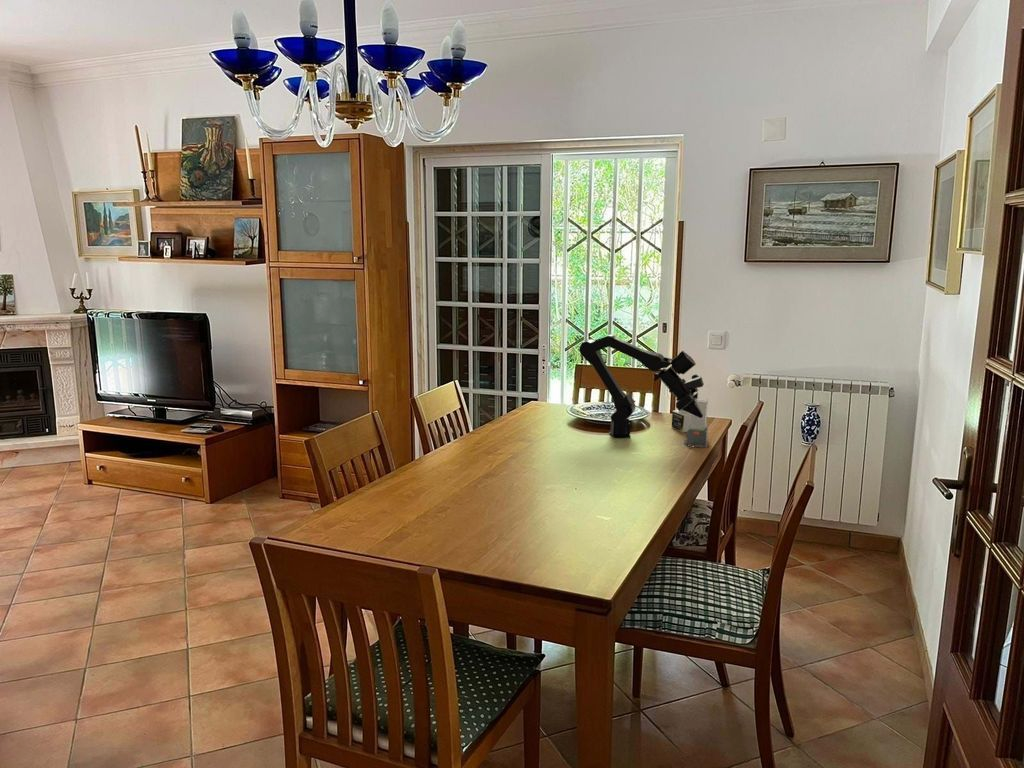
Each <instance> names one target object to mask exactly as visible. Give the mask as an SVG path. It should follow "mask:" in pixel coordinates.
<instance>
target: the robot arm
mask: <svg viewBox="0 0 1024 768" xmlns="http://www.w3.org/2000/svg"><path fill="white" fill-rule="evenodd" d="M608 347H609V348H611V349H614V350H615V351H618V352H620V353H622V354H625V356H628V357H631V358H632V359H634V360H637V361H638V362H639V363H641V365H643V367H645V368H647V369H648V370H650V371H651V372H655V373H654V374H653V376H654V377H653V382H656V381H658V380H659V379H660V381H661V382H662V383H663V384H664V386H666V388H667V389H668V392H669V393H671V394H673V396H674V398H676V403H675V408H676V410H679V411H680V410H681V409H682V410H684V411H686V412H689V413H691V414H693V415H695V416H697V417H699V418H702V417H703V415H702V414H701V412H700V410H699V409H698V407H697V406H696V404H695V398H699V397H698V396H699V392H698V391H699V389H698V388H702V387H704V385H705V384H704V383H705V382H704V380H703V377H702V376H701V375H698V374H697V373H695V374H693V375H692V376H691V379H688V380H686V379H685V378H681V377H680V375H681V374H682V375H685V374H686V373H688V372H689V370H691V369H692V368H694V367H695V366H696V362H695V360H694V359H693V357H692V356H691V355H689V354H688V353H686V352H685V351H684V350H681V352H679V353H678V355H676V356H675V357H674V358H669V357H665V356H664V355H663V354H662V353H658V352H655V351H653V350H652V351H651V350H645V349H643V348H640V347H638V346H636V345H634V344H632V343H629V342H628V341H625V340H623V339H621V338H620V337H617V336H615V334H614V335H613V334H608V335H606V336H603V337H601V338H598V339H587V340H585V341H584V342H582V343H581V344H580V346H579V349H578V350H579V351H578V352H579V354H580V355H581V356H582V357H583V359H585V361H587V362H588V363H589V364H590V365H591V366H592V367H593V368H594V370H595V372H596V373H597V374H598V376H599V378H600V380H601V381H602V383H603V384H604V386H605V388H606V389H607V391H608V393H609V394H610V397H612V401H613V405H614V408H615V411H614V412H613V413H612V414H611V415H610V431H608V434H609V435H610V436H611V437H613V438H614V439H617V438H631V430H632V429H631V427H632V424H631V423H630V419H629V418H630V417H631V416H632V415H633V413H634V412H635V410H636V400H635V399H634V398H633V397H632V395H631V393H630V392H628V393H627V394H626V393H625V392H624V391H623V390H622V388H621V387H620V384H618V382H617V380H616V379H615V377H614V375H613V374H612V372H611V370H610V369H609V366H607V364H606V362H605V361H604V358H603V355H602V351H601V350H602V349H606V348H608ZM657 371H659V372H657Z"/></svg>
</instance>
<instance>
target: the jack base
mask: <svg viewBox="0 0 1024 768" xmlns="http://www.w3.org/2000/svg"><path fill="white" fill-rule="evenodd" d="M708 432H709V427H708V426H706V430H705V432H704V431H695V430H690V426H689V428H688V430H687V432H686V439H684V440H683V444H684V445H685V444H686V445H685V446H687V445H689V446H694V447H693V448H695V447H706V446H709V445H710V444H711V443H710V441H708V434H709V433H708ZM689 446H688V447H689ZM710 446H711V445H710ZM710 446H709V447H710ZM706 448H707V447H706Z"/></svg>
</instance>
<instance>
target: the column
mask: <svg viewBox="0 0 1024 768" xmlns="http://www.w3.org/2000/svg"><path fill="white" fill-rule="evenodd" d="M708 401H709V399H708V398H699V397H698V398H695V404H696V406H697V407H698V409H699V410H700V412H701V414H702V415H703V417H702V418H699V417H697V416H695V415H693V414H691V423H690V430H695V431H704V432H705V430H706V427H707V416H708V403H709V402H708Z"/></svg>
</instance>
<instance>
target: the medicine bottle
mask: <svg viewBox="0 0 1024 768" xmlns="http://www.w3.org/2000/svg"><path fill="white" fill-rule="evenodd" d="M671 413H672V414H671V415H672V416H671V417H672V418H671V429H673V430H676V431H678V432H680V433H687V430H688V428H689V426H690V423H691V413H689V412H686V411H684V410H682V409H681V410H680V411H679V410H678V409H675V410H672V412H671Z"/></svg>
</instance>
